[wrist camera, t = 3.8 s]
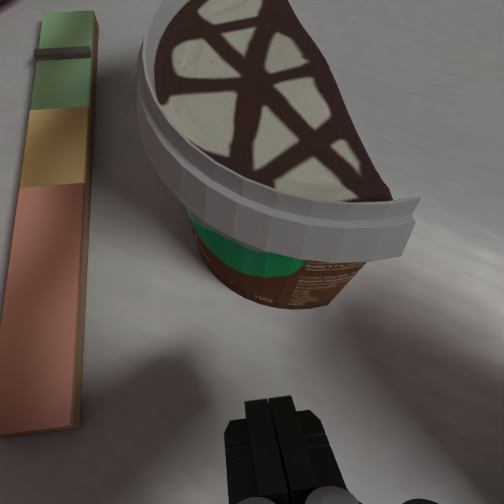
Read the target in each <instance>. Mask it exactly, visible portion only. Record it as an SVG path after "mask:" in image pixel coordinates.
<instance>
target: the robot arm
mask: <svg viewBox="0 0 504 504" xmlns="http://www.w3.org/2000/svg"><path fill="white" fill-rule="evenodd" d="M244 403H245V415H246V419H238V420H231V421H229V424H228V426H227V428H226V430H225V432H224V440H225V454H226V468H227V482H228V496H229V504H362V503H360V502H359V501H357V499H356V498H355V497H354V496H353V495H352V494H351V493H350V492H349V491H348V490H347V488H346V485H345V483H344V480H343V478H342V475H341V472H340V470H339V467H338V465H337V462H336V459H335V457H334V454H333V452H332V449H331V446H330V444H329V441H328V439H327V436H326V434H325V431H324V428H323V426H322V423H321V420H320V419H319V418H318V417H317V416H316V415H315V414H313V413H312V412H311V411H310V410H304V411H297V412H296V409H295V406H294V403H293V400H292V397H291V395H289V396H281V397H274V398H268V401H267V399H259V400H252V401H244ZM403 504H438V503H436V502H433V501H430V500H426V499H412V500H409V501H406V502H405V503H403Z"/></svg>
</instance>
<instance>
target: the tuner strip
mask: <svg viewBox="0 0 504 504" xmlns="http://www.w3.org/2000/svg"><path fill="white" fill-rule="evenodd" d="M98 31H99V26H98V23H97V20H96V17H95V13H94V11H74V12H54V13H43V19H42V27H41V34H40V41H39V49H35V50H34V57H35V59H36V61H37V63H36V70H35V78H34V85H33V92H32V100H31V107H30V114H29V122H28V129H27V136H26V143H25V151H24V158H23V165H22V173H21V180H20V187H19V194H18V202H17V209H16V216H15V224H14V231H13V238H12V246H11V253H10V260H9V267H8V275H7V282H6V289H5V297H4V304H3V311H2V319H1V326H0V438H6V437H13V436H21V435H29V434H36V433H44V432H52V431H59V430H67V429H75V428H80V411H81V389H82V368H83V347H84V326H85V305H86V284H87V263H88V242H89V221H90V200H91V179H92V158H93V136H94V115H95V94H96V73H97V52H98Z"/></svg>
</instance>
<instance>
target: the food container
mask: <svg viewBox="0 0 504 504" xmlns="http://www.w3.org/2000/svg"><path fill="white" fill-rule="evenodd" d="M136 114H137V121H138V129H139V135H140V138H141V141H142V144H143V146H144V149H145V152H146V155H147V158H148V159H149V161H150V163H151V164H152V166H153V168H154V169H155V171H156V173H157V174H158V176H159V178H160V179H161V181H162V182H163V183H164V184H165V185H166V186H167V188H168V189H169V190H170V191H171V192H172V193H173V194H174V196H175V197H176V198H177V199H178V200H179V201H180V202H181V203H182V204H183V205H184V206H185V209H186V212H187V215H188V218H189V221H190V224H191V227H192V230H193V233H194V236H195V239H196V242H197V245H198V247H199V250H200V253H201V255H202V257H203V259H204V261H205V262H206V264H207V266H208V267H209V269H210V270H211V271H212V272H213V274H214V275H215V276H216V277H217V278H218V279H219V280H220V281H221V282H222V283H223V284H225V285H226V286H227V287H228V288H229V289H231V290H232V291H234V292H236V293H237V294H239V295H241V296H242V297H244V298H246V299H249V300H251V301H254V302H256V303H259V304H262V305H266V306H270V307H274V308H282V309H310V308H315V307H320V306H325V305H328V304H329V303H330V302H331V301H332V300H333V298H334V297H335V296H336V295H337V294H338V293H339V292H340V291H341V290H342V289H343V288H344V286H345V285H346V284H347V283H348V282H349V281H350V280H351V279H352V278H353V277H354V276H355V274H356V273H357V272H358V271H359V270H360V269H361V268H362V267H363V266H364V265H365V264H366V263H367V262H371V261H377V260H382V259H387V258H393V257H398V256H401V255H402V253H403V251H404V248H405V246H406V243H407V241H408V239H409V236H410V234H411V231H412V229H413V227H414V224H415V220H414V218H413V217H412V215H411V214H412V213H413V211H414V209H415V208H416V206H417V204H418V203H419V201H420V197H419V196H418V197H412V198H405V199H399V200H393V199H392V196H391V193H390V190H389V188H388V187H387V186H386V184H385V183H384V182H383V181H382V179H381V177H380V176H379V174H378V172H377V171H376V169H375V167H374V166H373V164H372V162H371V160H370V158H369V156H368V154H367V152H366V150H365V148H364V146H363V144H362V142H361V140H360V138H359V136H358V134H357V131H356V129H355V127H354V125H353V122H352V120H351V118H350V116H349V114H348V111H347V109H346V106H345V104H344V101H343V99H342V96H341V94H340V91H339V89H338V86H337V84H336V82H335V79H334V77H333V75H332V73H331V70H330V68H329V65H328V63H327V61H326V59H325V58H324V56H323V55H322V53H321V52H320V50H319V48H318V47H317V45H316V44H315V42H314V41H313V40H312V38H311V37H310V36H309V34H308V33H307V32H306V30H305V29H304V28H303V26H302V25H301V23H300V22H299V20H298V19H297V17H296V15H295V13H294V11H293V9H292V8H291V6H290V4H289V2H288V0H159V2H158V4H157V5H156V7H155V9H154V10H153V12H152V14H151V16H150V19H149V22H148V25H147V28H146V31H145V34H144V39H143V42H142V45H141V48H140V51H139V56H138V66H137V87H136Z"/></svg>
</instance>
